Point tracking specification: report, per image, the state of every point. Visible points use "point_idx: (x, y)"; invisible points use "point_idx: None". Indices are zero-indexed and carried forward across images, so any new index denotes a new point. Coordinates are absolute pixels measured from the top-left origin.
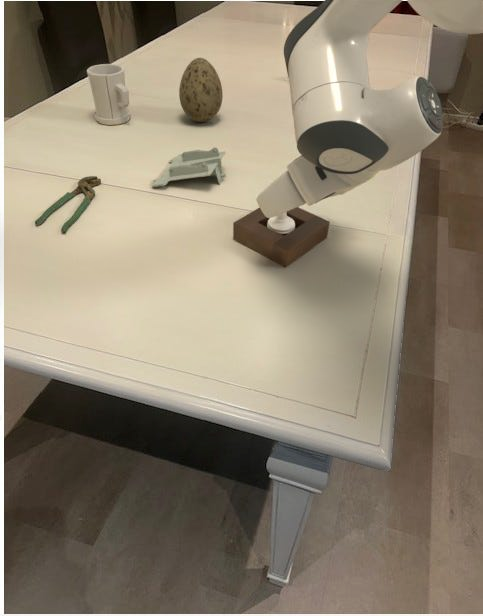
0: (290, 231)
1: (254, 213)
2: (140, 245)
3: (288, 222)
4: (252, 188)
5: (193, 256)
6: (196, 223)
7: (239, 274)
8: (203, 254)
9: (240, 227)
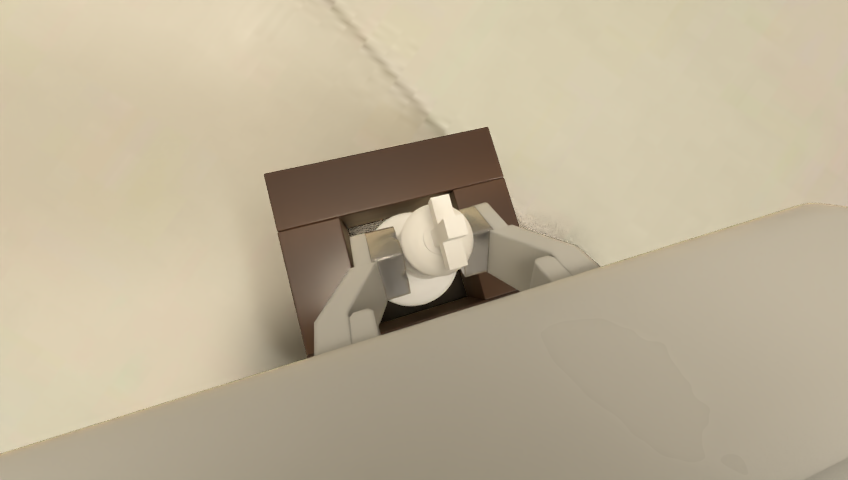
0: (416, 305)
1: (363, 166)
2: (18, 70)
3: (426, 280)
4: (487, 17)
5: (128, 202)
6: (240, 69)
7: (194, 350)
8: (161, 210)
9: (273, 207)
